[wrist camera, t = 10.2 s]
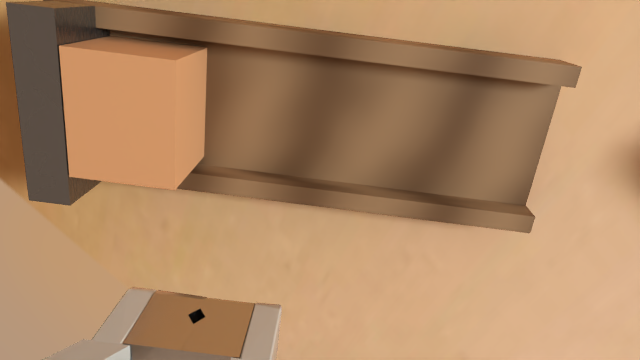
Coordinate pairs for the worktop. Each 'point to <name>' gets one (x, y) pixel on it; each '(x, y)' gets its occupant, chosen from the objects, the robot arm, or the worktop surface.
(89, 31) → the end stop
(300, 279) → the worktop surface
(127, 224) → the worktop surface
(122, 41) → the orange block
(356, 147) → the track
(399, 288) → the worktop surface
